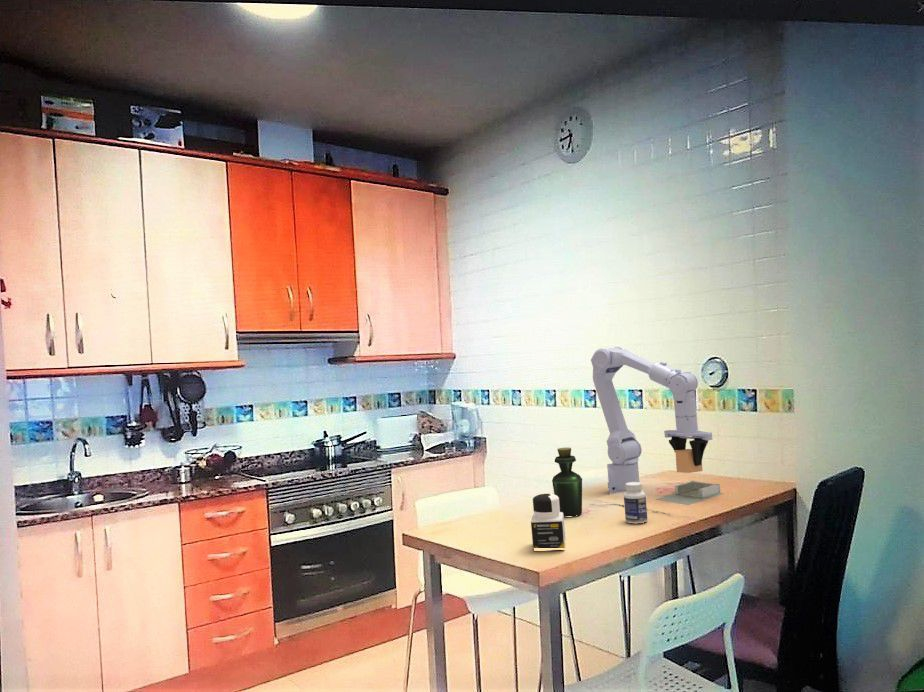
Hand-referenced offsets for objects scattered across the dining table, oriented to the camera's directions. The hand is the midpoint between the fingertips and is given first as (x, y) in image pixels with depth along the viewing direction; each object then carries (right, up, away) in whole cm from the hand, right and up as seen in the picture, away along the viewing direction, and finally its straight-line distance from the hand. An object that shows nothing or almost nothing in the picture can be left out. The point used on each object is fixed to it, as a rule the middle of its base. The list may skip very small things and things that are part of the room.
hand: (690, 464), depth 188 cm
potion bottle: (-34, -13, -5) cm, 37 cm away
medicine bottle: (-44, -14, -33) cm, 56 cm away
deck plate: (0, -10, -1) cm, 10 cm away
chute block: (0, -2, -1) cm, 2 cm away
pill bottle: (-20, -12, -18) cm, 29 cm away
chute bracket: (+2, -9, +1) cm, 9 cm away
